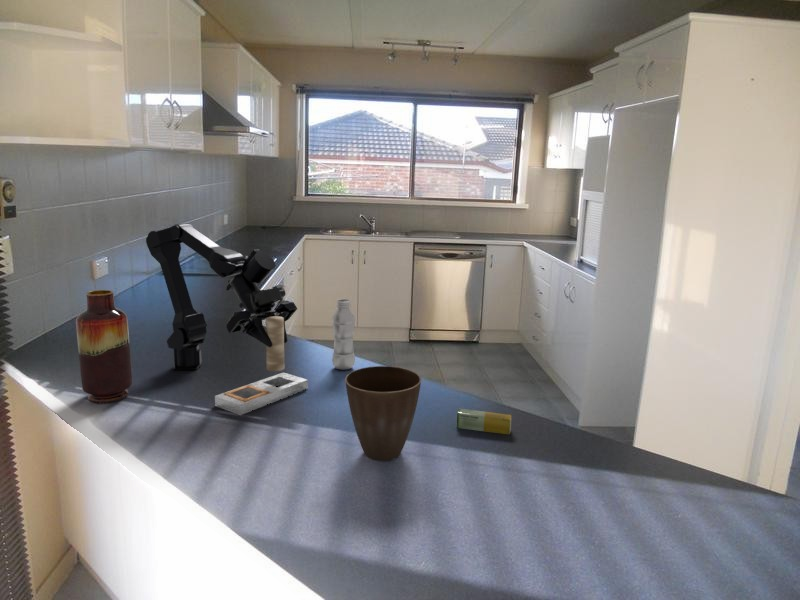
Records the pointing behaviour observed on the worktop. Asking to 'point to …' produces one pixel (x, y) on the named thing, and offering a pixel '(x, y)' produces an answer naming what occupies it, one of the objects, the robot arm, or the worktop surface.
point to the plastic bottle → (343, 336)
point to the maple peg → (275, 343)
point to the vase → (104, 349)
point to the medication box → (483, 421)
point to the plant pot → (382, 408)
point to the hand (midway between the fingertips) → (278, 344)
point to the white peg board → (260, 393)
